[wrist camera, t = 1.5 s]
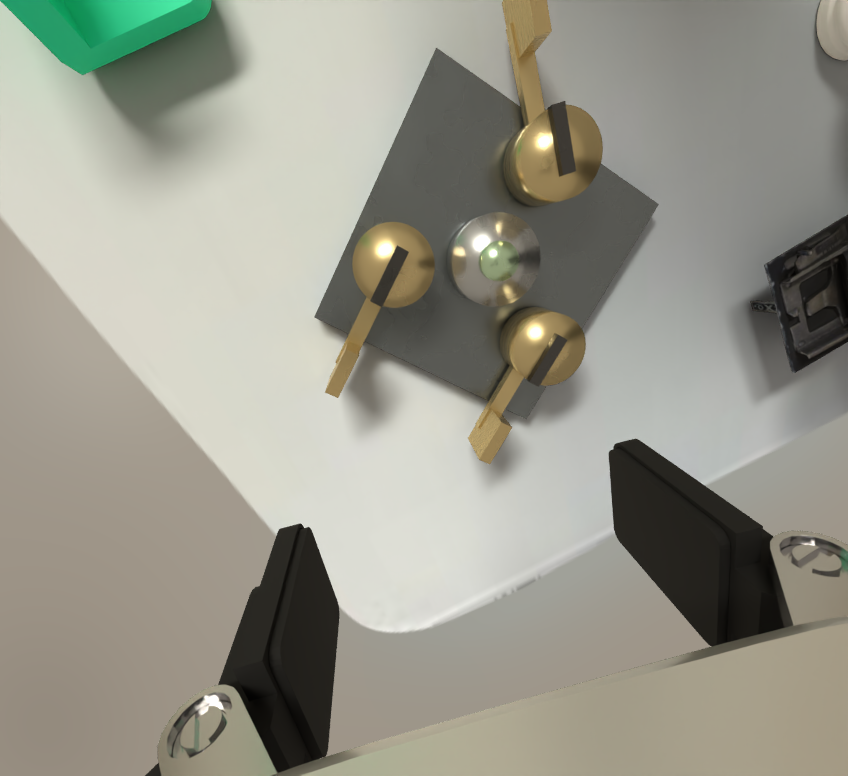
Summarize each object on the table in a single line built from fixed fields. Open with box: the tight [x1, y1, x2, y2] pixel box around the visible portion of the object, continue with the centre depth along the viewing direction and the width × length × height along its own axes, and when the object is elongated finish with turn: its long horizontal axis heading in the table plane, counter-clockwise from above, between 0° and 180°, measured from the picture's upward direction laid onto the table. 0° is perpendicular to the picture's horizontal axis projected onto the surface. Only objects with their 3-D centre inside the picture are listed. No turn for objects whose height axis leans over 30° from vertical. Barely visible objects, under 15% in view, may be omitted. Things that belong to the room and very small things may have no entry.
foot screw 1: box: [325, 222, 435, 398], centre depth 24 cm, size 10×4×4 cm, turn 152°
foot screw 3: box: [468, 307, 586, 464], centre depth 27 cm, size 10×4×4 cm, turn 152°
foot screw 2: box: [502, 0, 603, 206], centre depth 22 cm, size 10×4×4 cm, turn 17°
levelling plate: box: [315, 48, 659, 419], centre depth 25 cm, size 16×16×4 cm
